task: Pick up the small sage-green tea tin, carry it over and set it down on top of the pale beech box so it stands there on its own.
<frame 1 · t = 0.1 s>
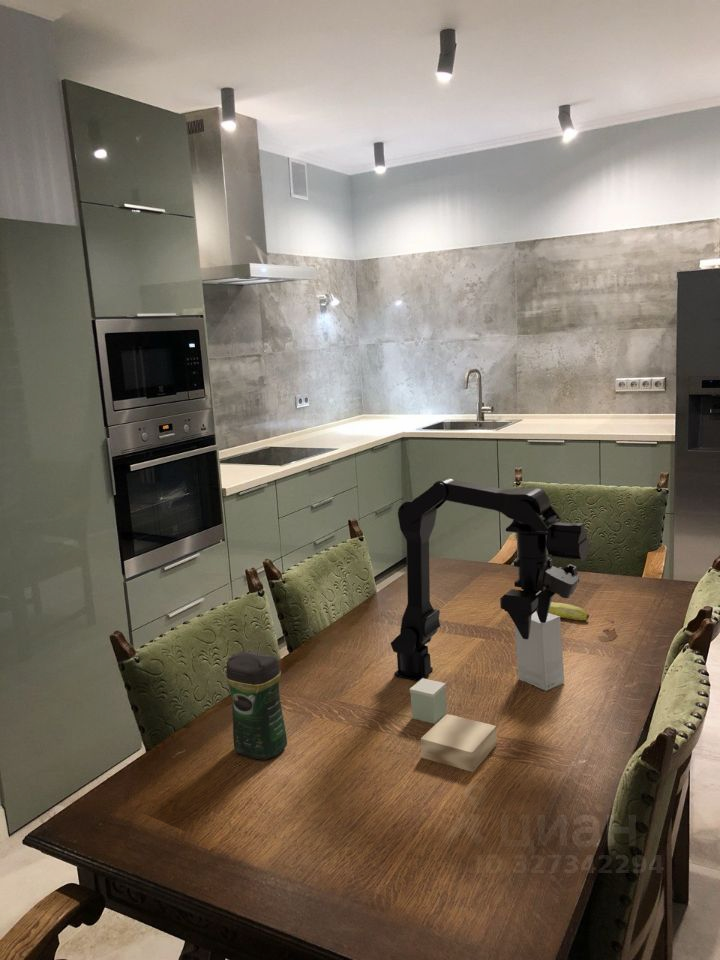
hand: (534, 630, 153), 15 cm above the table, tool pointing down, fingers open, 9 cm apart
green-yellow banana: (551, 620, 198), on the table
coffee jar: (261, 749, 144), on the table
tea tin: (429, 715, 153), on the table
skincare box: (539, 682, 164), on the table, touching gripper
beech box: (459, 752, 139), on the table
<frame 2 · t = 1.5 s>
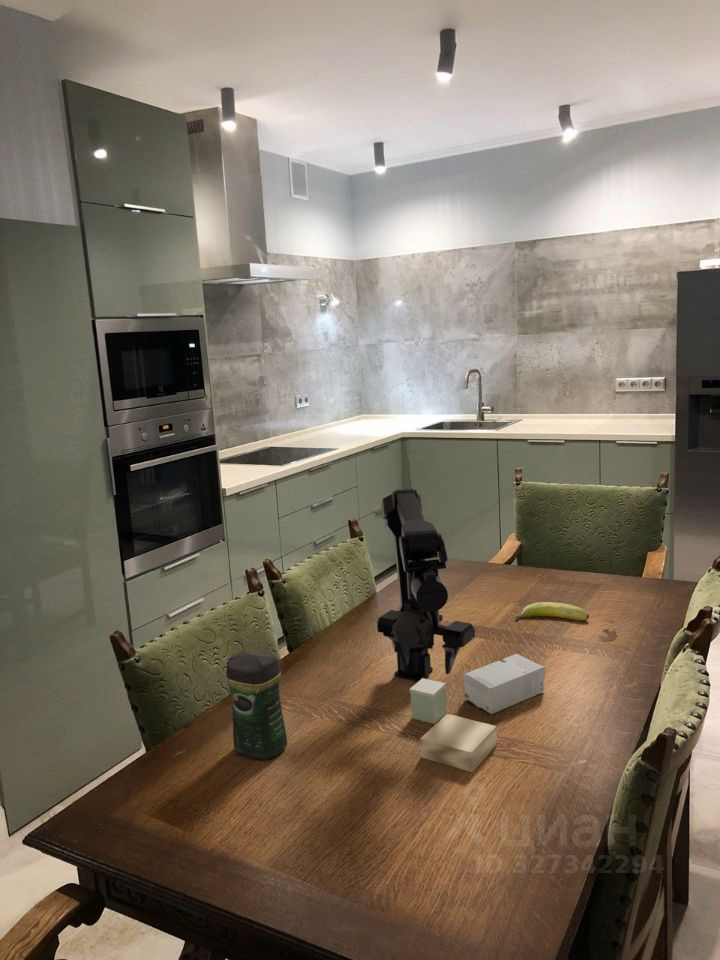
hand: (426, 669, 151), 10 cm above the table, tool pointing down, fingers open, 9 cm apart
skincare box: (530, 672, 162), point 3 cm above the table
everything else where it was.
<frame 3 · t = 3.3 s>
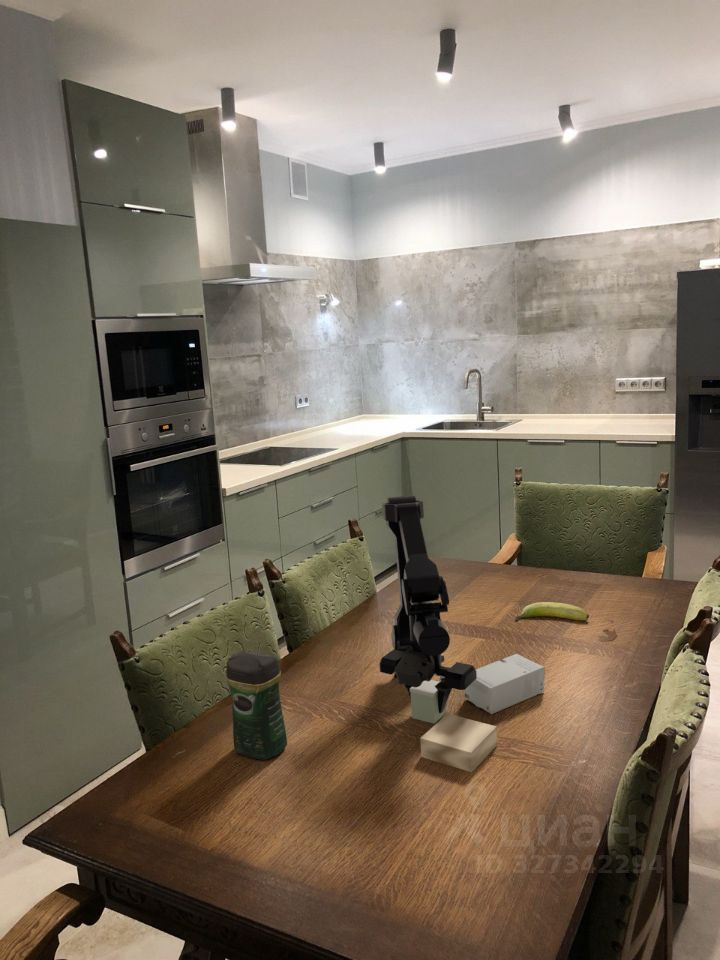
hand: (429, 709, 152), 1 cm above the table, tool pointing down, fingers closed on tea tin, 5 cm apart
tea tin: (429, 715, 153), on the table, touching gripper
everything else where it was.
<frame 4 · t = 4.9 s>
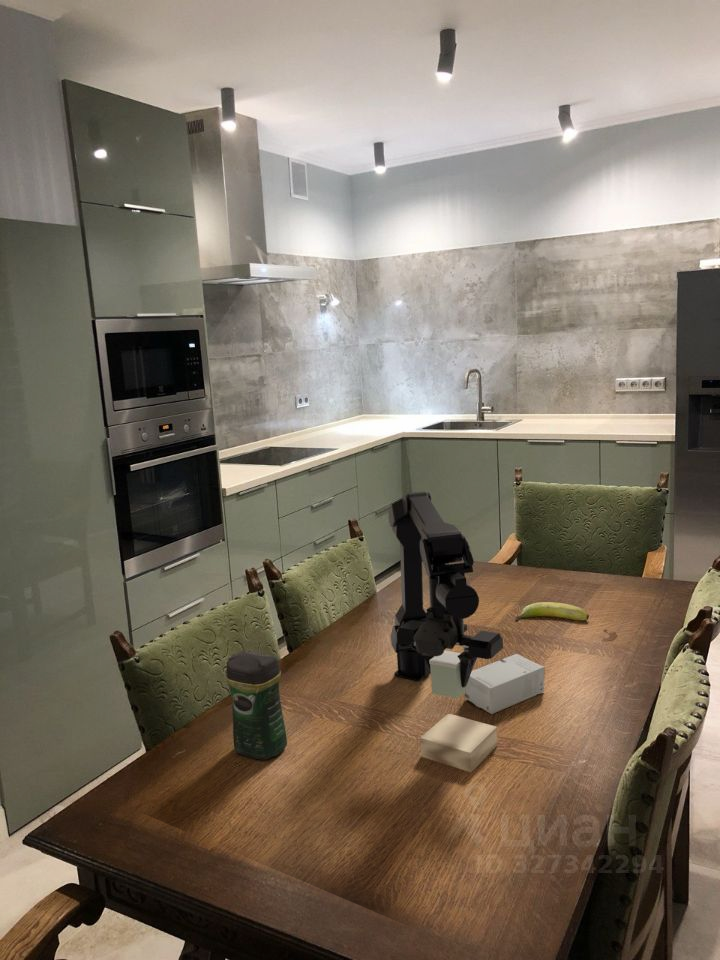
hand: (450, 683, 139), 12 cm above the table, tool pointing down, fingers closed on tea tin, 5 cm apart
tea tin: (450, 690, 139), point 11 cm above the table, touching gripper
everything else where it was.
when the fingers open (6 cm above the table, at t = 6.8 s): tea tin drops 1 cm, resting on beech box.
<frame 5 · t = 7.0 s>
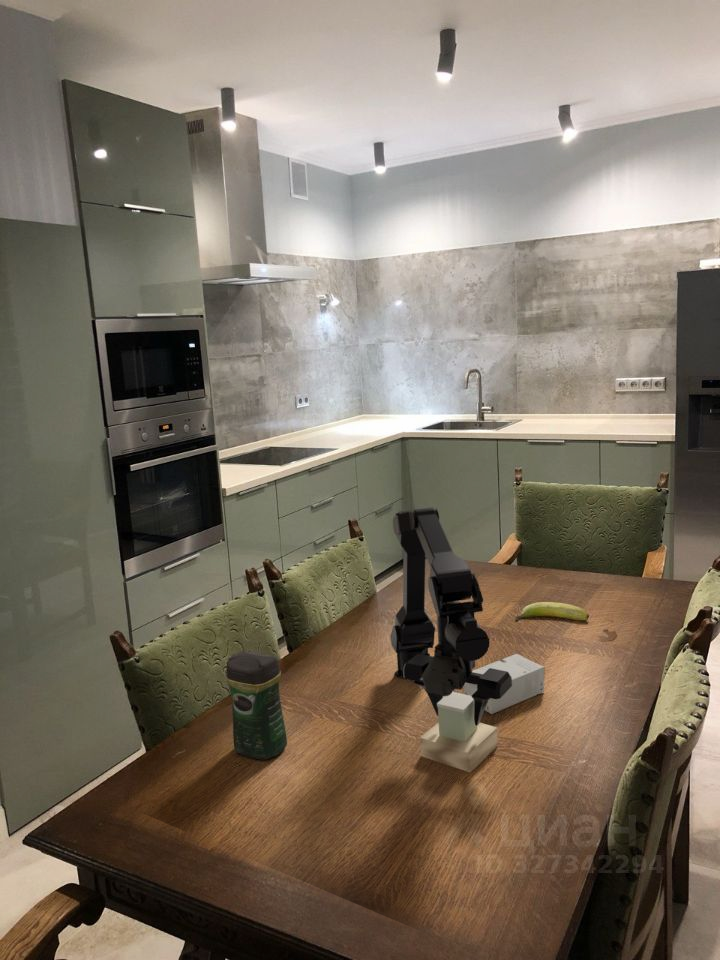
hand: (458, 719, 138), 6 cm above the table, tool pointing down, fingers open, 7 cm apart
tea tin: (458, 732, 139), point 4 cm above the table, touching beech box
beech box: (459, 752, 139), on the table, touching tea tin
everything else where it was.
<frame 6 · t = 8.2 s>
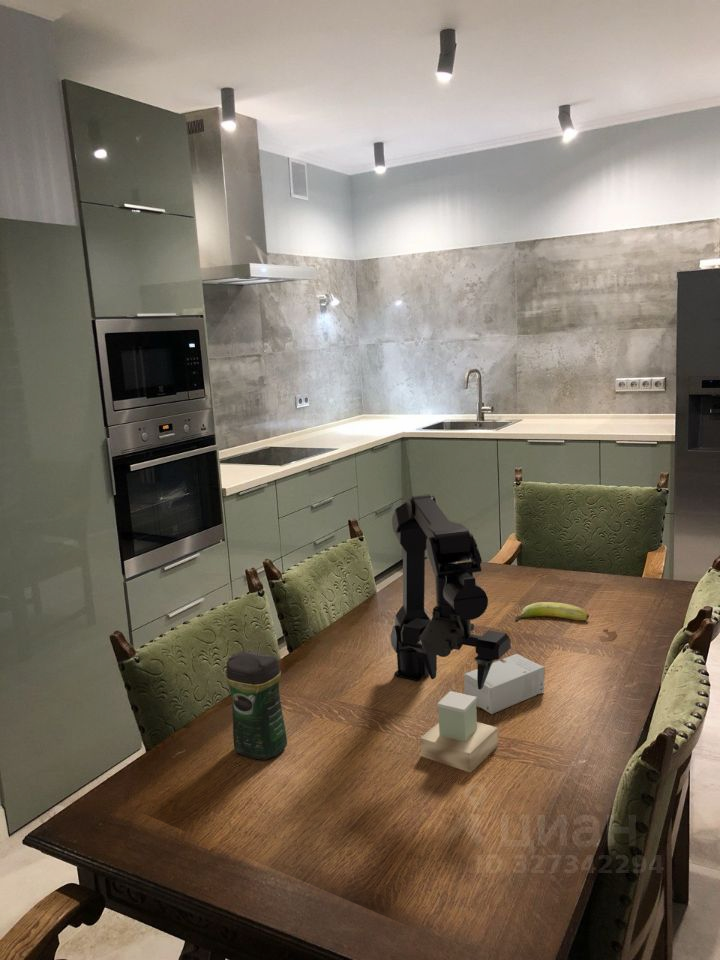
hand: (456, 683, 137), 13 cm above the table, tool pointing down, fingers open, 9 cm apart
tea tin: (458, 732, 139), point 4 cm above the table
beech box: (460, 753, 139), on the table
everything else where it was.
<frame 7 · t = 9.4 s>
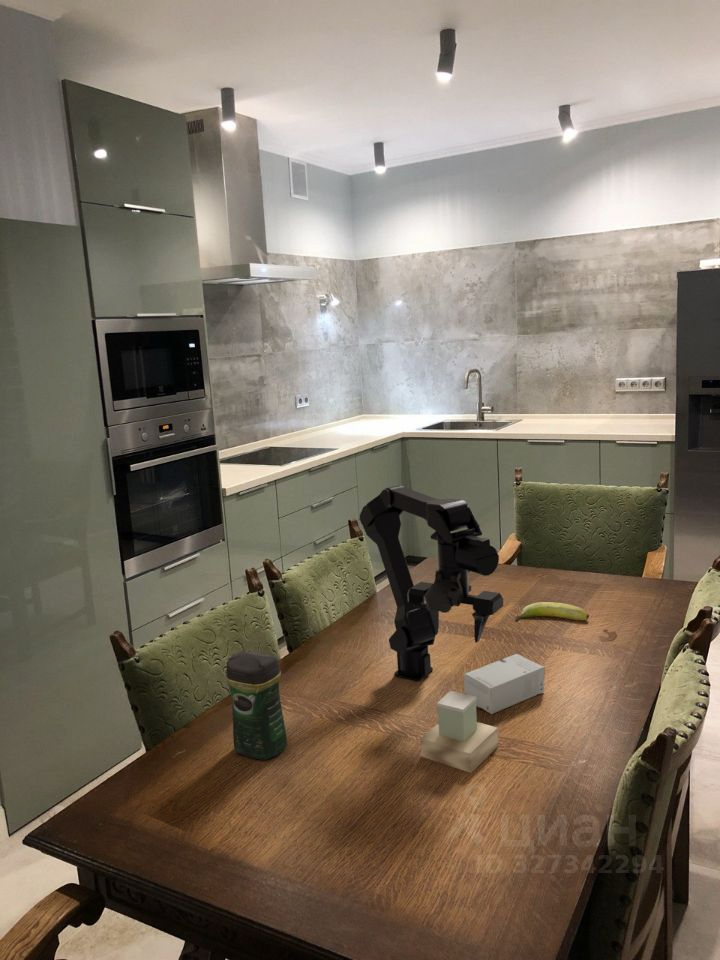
hand: (456, 638, 156), 13 cm above the table, tool pointing down, fingers open, 9 cm apart
nothing on the table moved.
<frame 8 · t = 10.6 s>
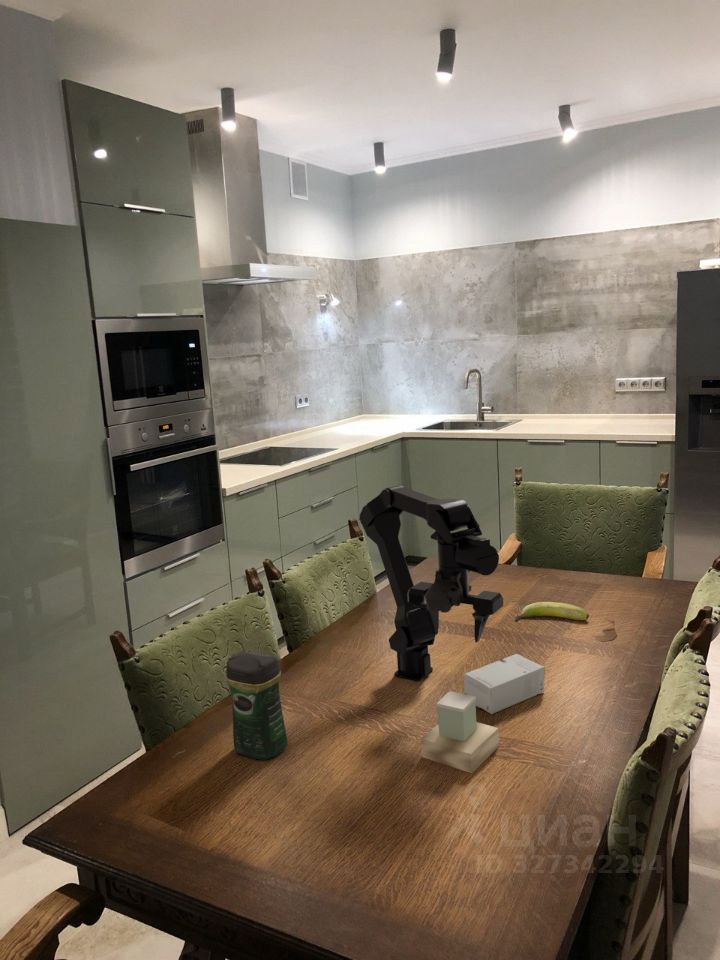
hand: (456, 638, 156), 13 cm above the table, tool pointing down, fingers open, 9 cm apart
tea tin: (457, 732, 139), point 4 cm above the table, touching beech box
beech box: (460, 753, 139), on the table, touching tea tin
everything else where it was.
at the end: tea tin inside the target area on the beech box (0.5 cm from its centre), point 4.0 cm above the beech box's base; tea tin tilted 1°; the gripper is holding nothing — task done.
